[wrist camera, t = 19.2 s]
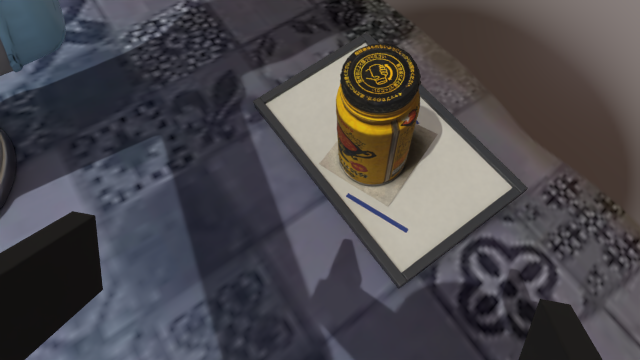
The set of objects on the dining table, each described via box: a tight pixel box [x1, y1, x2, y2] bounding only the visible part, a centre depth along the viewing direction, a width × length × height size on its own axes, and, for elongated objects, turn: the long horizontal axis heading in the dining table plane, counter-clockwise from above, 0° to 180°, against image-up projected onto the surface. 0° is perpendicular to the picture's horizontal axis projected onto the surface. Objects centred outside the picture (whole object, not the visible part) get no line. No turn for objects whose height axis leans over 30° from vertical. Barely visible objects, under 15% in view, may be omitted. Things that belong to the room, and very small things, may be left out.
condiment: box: [319, 44, 438, 206], centre depth 33 cm, size 7×8×12 cm
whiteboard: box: [253, 32, 527, 289], centre depth 39 cm, size 22×14×1 cm, turn 36°
